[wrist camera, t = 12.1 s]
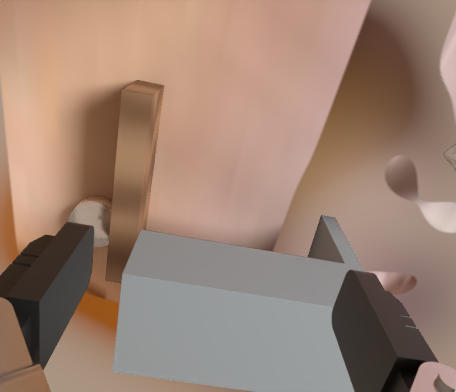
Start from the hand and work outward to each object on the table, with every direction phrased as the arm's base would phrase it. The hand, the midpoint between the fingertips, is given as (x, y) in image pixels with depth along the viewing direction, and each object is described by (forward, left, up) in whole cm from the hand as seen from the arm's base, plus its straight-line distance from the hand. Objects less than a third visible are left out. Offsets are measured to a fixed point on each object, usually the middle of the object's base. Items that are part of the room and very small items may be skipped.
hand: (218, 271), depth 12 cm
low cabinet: (+14, +4, -26) cm, 30 cm away
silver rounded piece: (+14, -11, -26) cm, 32 cm away
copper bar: (+8, -7, -26) cm, 28 cm away
